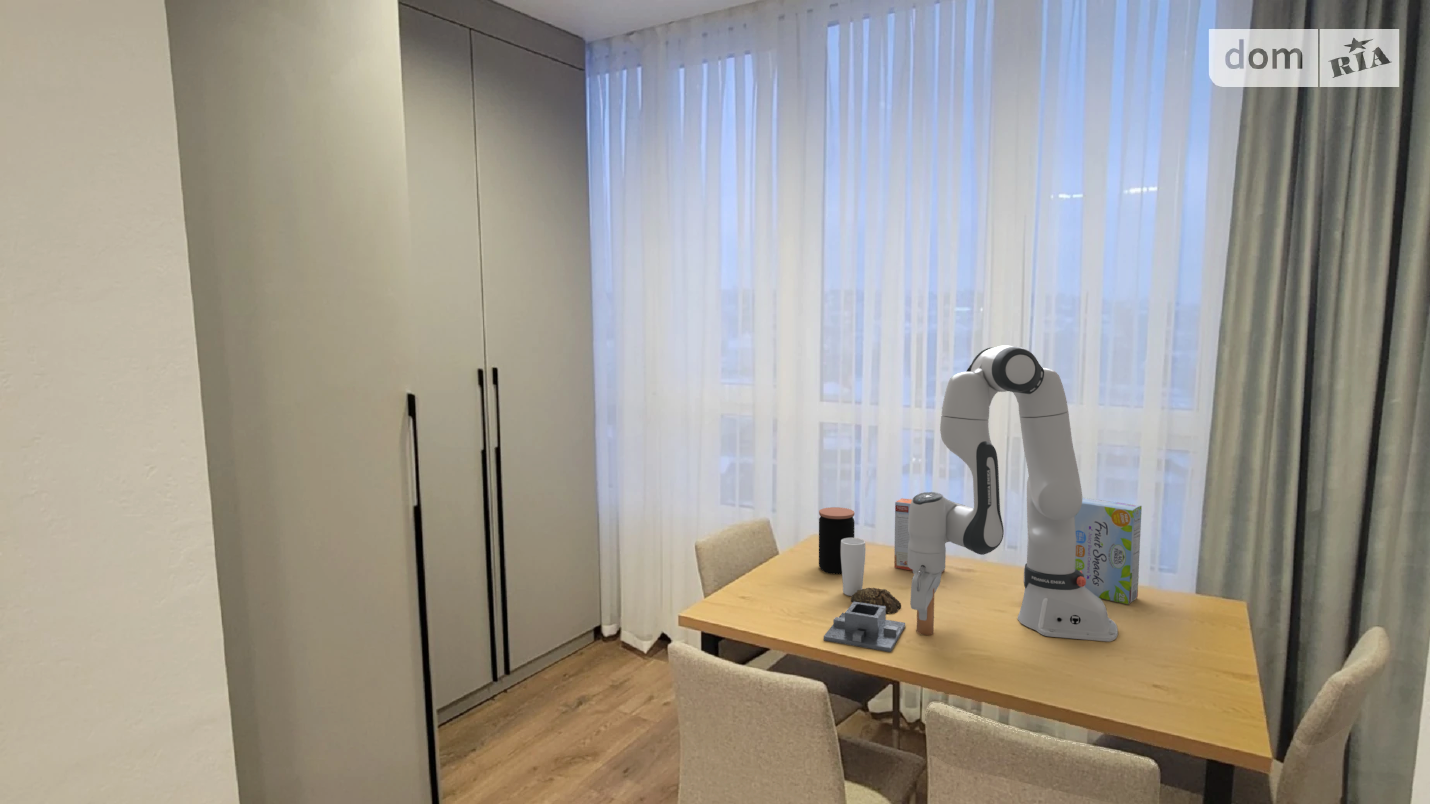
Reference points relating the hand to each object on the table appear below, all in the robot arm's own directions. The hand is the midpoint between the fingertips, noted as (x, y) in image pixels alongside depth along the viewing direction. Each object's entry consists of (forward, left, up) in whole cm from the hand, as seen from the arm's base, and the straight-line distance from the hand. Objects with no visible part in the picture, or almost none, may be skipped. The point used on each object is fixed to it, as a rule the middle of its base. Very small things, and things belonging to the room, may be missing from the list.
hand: (925, 615), depth 187 cm
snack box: (-37, -45, -4) cm, 59 cm away
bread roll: (+15, -12, -5) cm, 20 cm away
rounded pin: (0, 0, -4) cm, 4 cm away
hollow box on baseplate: (+13, +7, -4) cm, 15 cm away
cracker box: (+10, -46, -4) cm, 47 cm away
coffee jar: (+33, -36, -4) cm, 49 cm away
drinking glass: (+23, -18, -4) cm, 30 cm away
